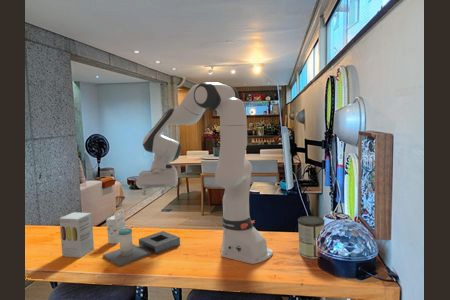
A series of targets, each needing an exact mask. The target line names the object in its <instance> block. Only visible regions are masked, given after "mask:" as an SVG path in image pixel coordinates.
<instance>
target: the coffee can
mask: <svg viewBox="0 0 450 300" xmlns="http://www.w3.org/2000/svg"><path fill="white" fill-rule="evenodd" d="M297 222H298V227H297V228H298V255H300V256H301V257H303V258H306V259H310V260H311V259H312V260H314V259H315V260H316V259H317V258H318V255H317V250H316V238H317V237H318V236H319V233H320V231H321V230H322V228H323V227H324V228H325V222H326V221H325V219H324V218H323V217H321V216H315V215H305V216H300V217H298V219H297ZM318 259H319V258H318Z"/></svg>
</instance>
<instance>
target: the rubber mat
mask: <svg viewBox="0 0 450 300" xmlns="http://www.w3.org/2000/svg"><path fill="white" fill-rule="evenodd" d="M148 256H151V252H149V251H147V250H145V249H143V248H141V247H139V245H136V244H133V254H132V255H129V256H121V252H120V248H118V249H116V250H112V251H109V252H107V253H104V254H103V255H102V257H103V258H104V259H106V260H107V261H109V262H110V263H112V264H114V265H116V266H117V267H118V268H121V267H123V266H125V265H128V264H131V263H133V262H135V261H138V260H141V259H143V258H144V259H145V257H148Z"/></svg>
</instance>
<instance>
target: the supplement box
mask: <svg viewBox="0 0 450 300" xmlns="http://www.w3.org/2000/svg"><path fill="white" fill-rule="evenodd" d="M59 229H60V230H59V231H60V240H61V241H60V242H61V254H62V255H61V256H62V257H67V258H77V259H79V258H80V259H81V258H83V257H85V256H86V255H87V254H89V253H90V252H92V251H94V250H95V243H94V230H93V229H94V227H93V217H92V212H77V211H74V212H71V213H69V214H66V215H64V216H61V217H59Z"/></svg>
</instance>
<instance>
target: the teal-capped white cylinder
mask: <svg viewBox="0 0 450 300" xmlns="http://www.w3.org/2000/svg"><path fill="white" fill-rule="evenodd" d="M118 232H119V239H120V242H119V249H120V252H121V256H129V255H132V254H133V229H132V228H129V227H128V228H125V229H121V230H119V231H118Z"/></svg>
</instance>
